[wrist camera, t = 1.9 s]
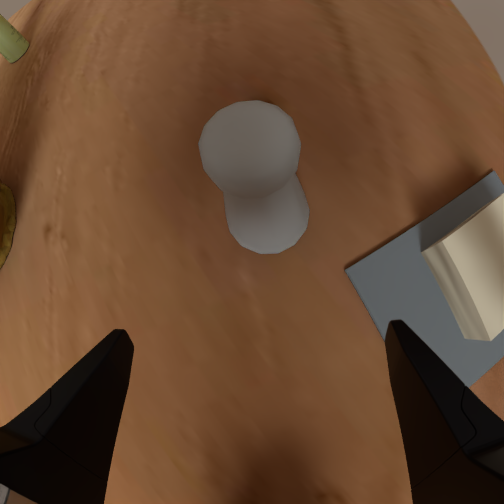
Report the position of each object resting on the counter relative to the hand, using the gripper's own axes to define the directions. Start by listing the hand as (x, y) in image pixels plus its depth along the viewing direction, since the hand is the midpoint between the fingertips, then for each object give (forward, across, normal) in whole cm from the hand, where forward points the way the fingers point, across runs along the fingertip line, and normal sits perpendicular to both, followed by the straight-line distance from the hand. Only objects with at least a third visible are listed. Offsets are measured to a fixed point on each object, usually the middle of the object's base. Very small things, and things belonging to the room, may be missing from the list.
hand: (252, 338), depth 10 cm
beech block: (+11, -17, +7) cm, 22 cm away
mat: (+10, -16, +8) cm, 21 cm away
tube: (+41, +42, -21) cm, 62 cm away
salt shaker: (+15, 0, +4) cm, 16 cm away
